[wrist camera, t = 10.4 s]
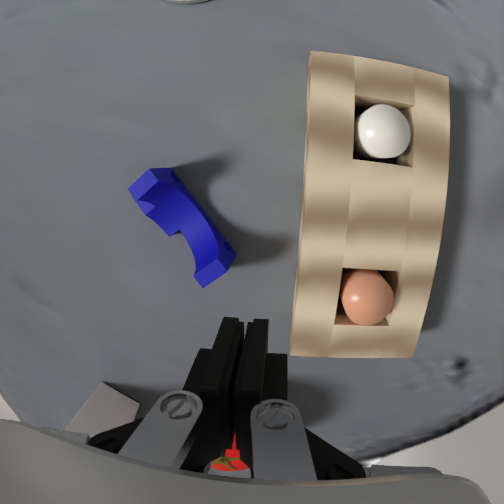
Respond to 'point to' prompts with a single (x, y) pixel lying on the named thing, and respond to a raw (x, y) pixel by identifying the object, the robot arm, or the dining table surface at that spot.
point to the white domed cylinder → (381, 132)
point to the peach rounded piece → (365, 295)
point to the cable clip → (183, 221)
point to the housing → (368, 206)
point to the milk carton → (103, 412)
